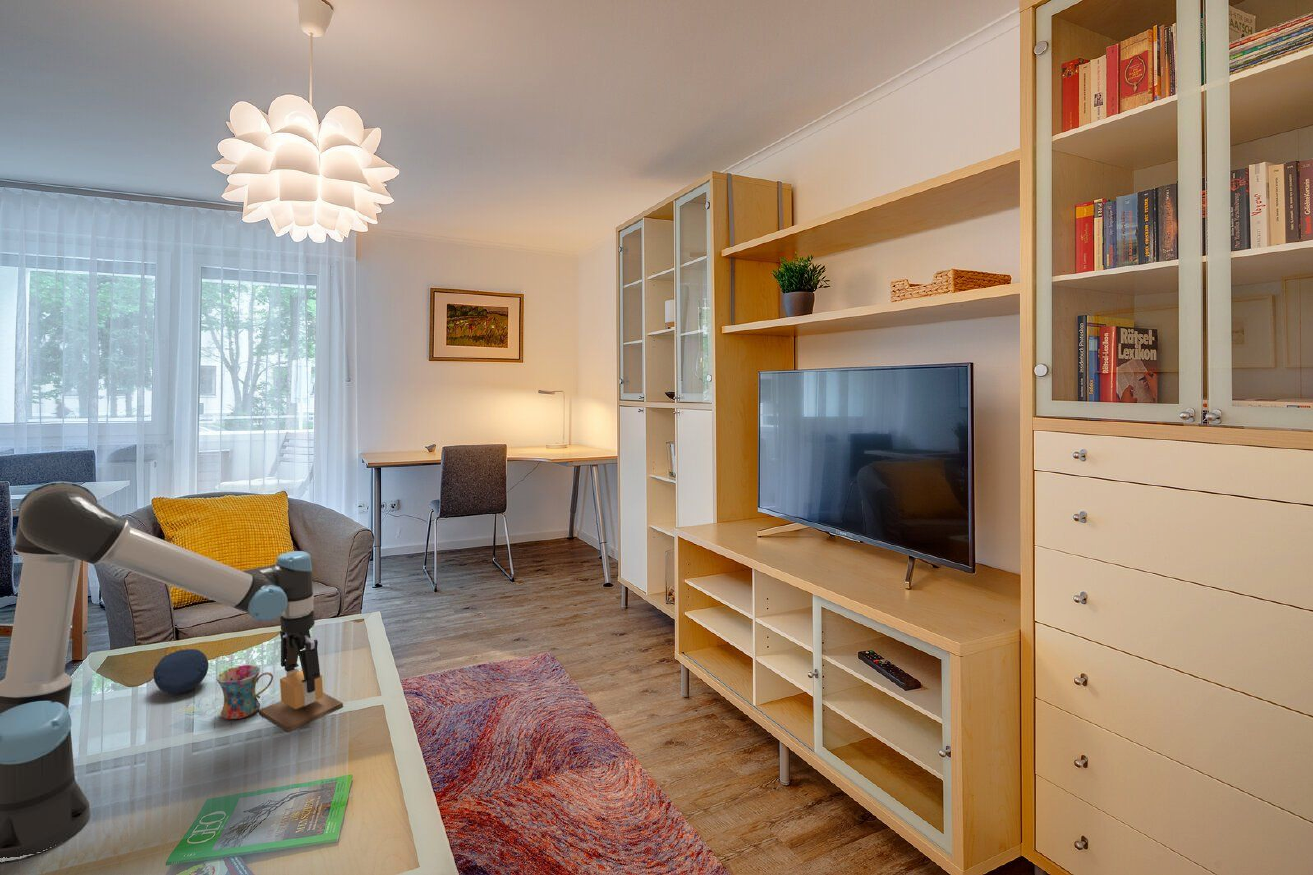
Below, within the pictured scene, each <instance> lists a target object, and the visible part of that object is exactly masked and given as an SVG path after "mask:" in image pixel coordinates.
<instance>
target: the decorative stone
mask: <svg viewBox="0 0 1313 875" xmlns="http://www.w3.org/2000/svg"><path fill="white" fill-rule="evenodd" d="M208 671H209V660H208V658H207V656H206V655H205V653H204V652H202V651H201V650H199V649H196V648H194V649H193V648H191V649H190V648H186V649H180V650H179V649H178V650H176V651H174V652H171V653H169V654H167V655H165V656H163V657H162V658H161V659H160V660H159V662H158V663H157V665H156V666H155V668H154V669H153V680H154V684H155V686H157V688H158V689H159V690H160V691H162V692H163V693H166V694H168V695H180V694H183V693H187V692H189V691H191V690H194V689H195V688H196V687H197V686H199V685H200V684H201V683H202V682H203V680H204V679H205V677H206V676H207V673H208Z"/></svg>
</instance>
